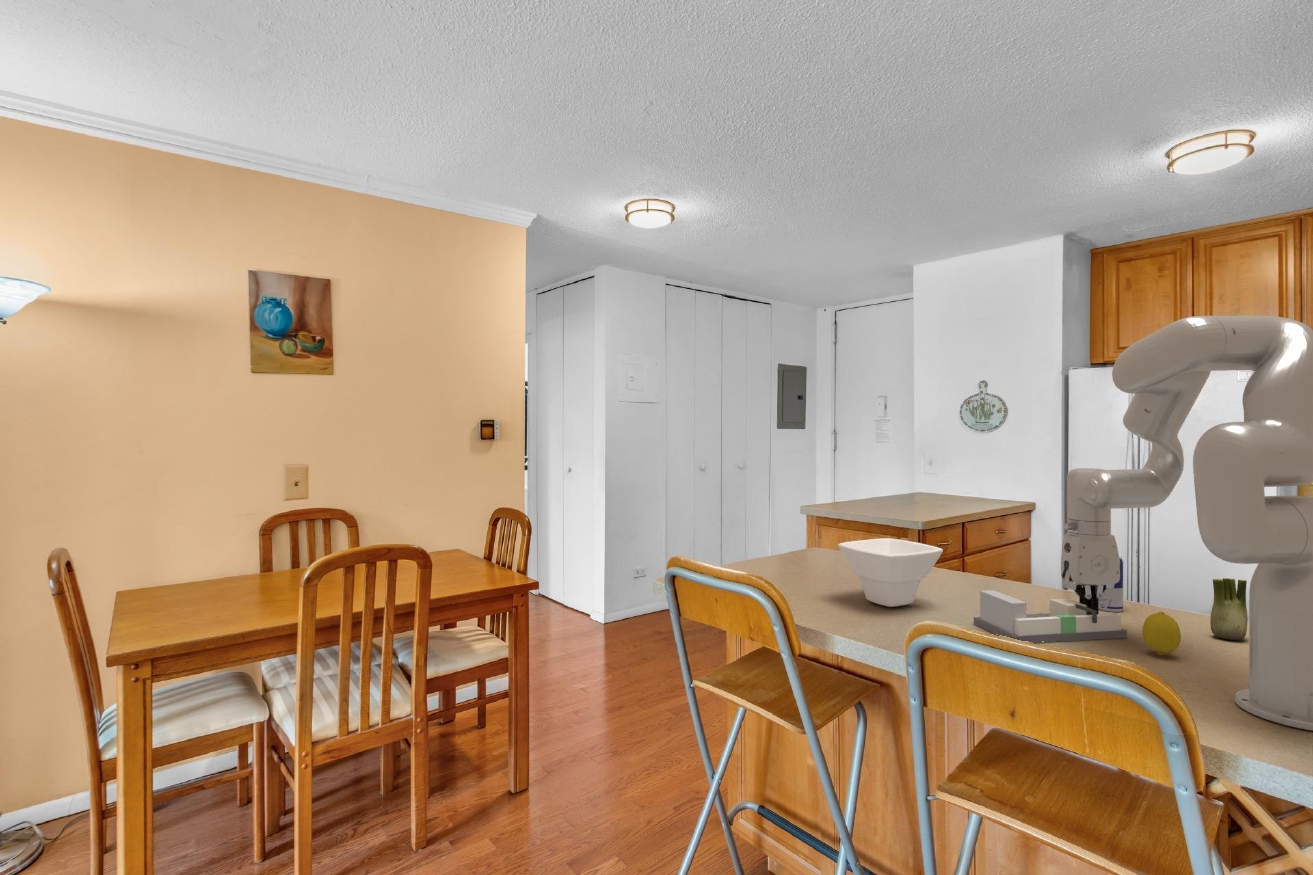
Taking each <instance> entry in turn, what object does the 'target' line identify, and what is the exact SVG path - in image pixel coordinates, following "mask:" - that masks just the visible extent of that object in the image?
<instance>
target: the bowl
mask: <svg viewBox="0 0 1313 875" xmlns="http://www.w3.org/2000/svg"><path fill="white" fill-rule="evenodd" d="M837 547H838V549H839V550H840V552H841V553H842V555H843V557H844V558H845V561H846V562H847V564H848V565H849V567H850V568H851V571H852V572H853V574H856V575H858V577H859V580H860V583H861V585H862V586H861V587H862V589H863V592H864V596H865V598H866V600H868V601H870V602H872V603H875V604H876V605H877V604H878V605H880V606H885V607H889V608H890V607H900V606H906V605H910V604H913V603H914V600H915V598H916V595H917V591H918V588H919V585H920V582H921V580H923V579H925V578H927V577H928V575H929V574H930V573H931V570H932V569H933V567H934V566H935V564H936V563H937V561H938V560H939V558H940V557H941V555H942V553H943V552H944V549H943V548H940V547H938V546H934V545H930V544H925V543H922V542H917V541H910V540H905V539H897V538H891V537H890V538H889V537H886V538H884V537H883V538H870V539H869V538H868V539H863V540H862V539H861V540H852V541H845V542H840V543H838V544H837Z"/></svg>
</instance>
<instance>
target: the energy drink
mask: <svg viewBox="0 0 1313 875" xmlns="http://www.w3.org/2000/svg"><path fill="white" fill-rule="evenodd" d="M1119 564H1120V580H1119V582H1117V583H1115V585H1114V587H1112V588H1109V589H1106V590H1105V591H1104V592H1103V593H1102V597H1101V598H1100V599H1099V611H1101V612H1102V611H1103V612H1109V613H1121V612H1122V611H1124V560H1123V557H1121V556H1119Z"/></svg>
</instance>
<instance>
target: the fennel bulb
mask: <svg viewBox="0 0 1313 875" xmlns="http://www.w3.org/2000/svg"><path fill="white" fill-rule="evenodd" d="M1247 584H1248V583H1247V580H1246V579H1238V580H1237V585H1236V579H1235V578H1227V577H1224V578H1213V579H1212V586H1213V587H1212V588H1213V602H1212V606H1211V611H1210V631H1211V633H1212V634H1213V635H1214V636H1215V637H1217V638H1218V639H1222V640H1223V639H1224V640H1229V641H1230V640H1234V641H1242V640H1244V639H1245V637H1246V636H1247V630H1248V622H1249V617H1248V609H1247ZM1236 586H1237V587H1236Z"/></svg>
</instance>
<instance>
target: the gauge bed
mask: <svg viewBox="0 0 1313 875" xmlns="http://www.w3.org/2000/svg"><path fill="white" fill-rule="evenodd" d="M979 597H980V598H979V603H980V604H979V605H980V606H979V608H980V609H979V613H980V614H979V616H974V617H973V625H975V626H977V627H979V628H981V629H983V630H985V631H987V632H989V633H991V634H993V635H995V634H998V635H1002V636H1007V637H1010V638H1013V639H1017V640H1021V641H1029V642H1034V643H1033V644H1042V643H1041V642H1042V641H1044V642H1048V643H1055V642H1054V641H1066V642H1078V641H1077V640H1083V641H1096V639H1097V641H1098V639H1101V640H1114V639H1115V640H1116V639H1117V640H1118V639H1127V638H1128V630H1126V629H1124V628H1122V615H1121V614H1119V613H1117V612H1114V613H1100V614H1097V623H1092V615H1076V616H1073V615H1056V617H1050V612H1049V613H1031V614H1029V613H1028V614H1027V602H1026V601H1022V600H1021V599H1018V598H1015V597H1012V596H1009V595H1007V594H1004V593H1002V592H999V591H997V590H994V589H993V590H991V589H990V590H989V589H988V590H980V591H979ZM1091 639H1093V640H1091ZM1094 639H1095V640H1094ZM1072 640H1073V641H1072ZM1074 640H1076V641H1074Z"/></svg>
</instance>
